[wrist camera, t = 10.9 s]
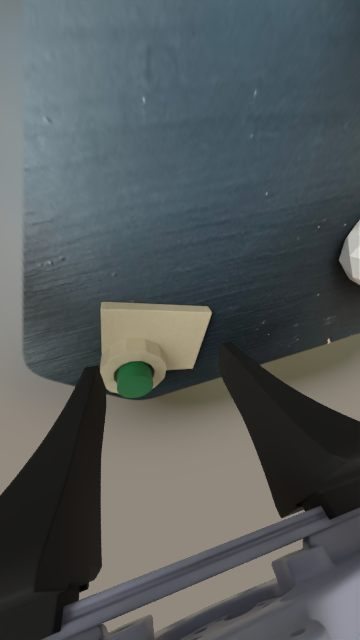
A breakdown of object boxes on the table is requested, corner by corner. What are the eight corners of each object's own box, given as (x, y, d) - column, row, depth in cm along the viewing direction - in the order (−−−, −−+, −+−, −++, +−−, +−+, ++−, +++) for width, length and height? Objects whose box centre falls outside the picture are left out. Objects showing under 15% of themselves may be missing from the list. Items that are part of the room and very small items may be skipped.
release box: (102, 373, 22) (100, 397, 20) (100, 301, 17) (97, 322, 14) (187, 368, 25) (195, 388, 23) (208, 305, 20) (220, 323, 18)
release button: (116, 383, 19) (116, 399, 18) (117, 361, 18) (117, 377, 16) (149, 381, 20) (151, 396, 19) (152, 359, 19) (155, 374, 17)
